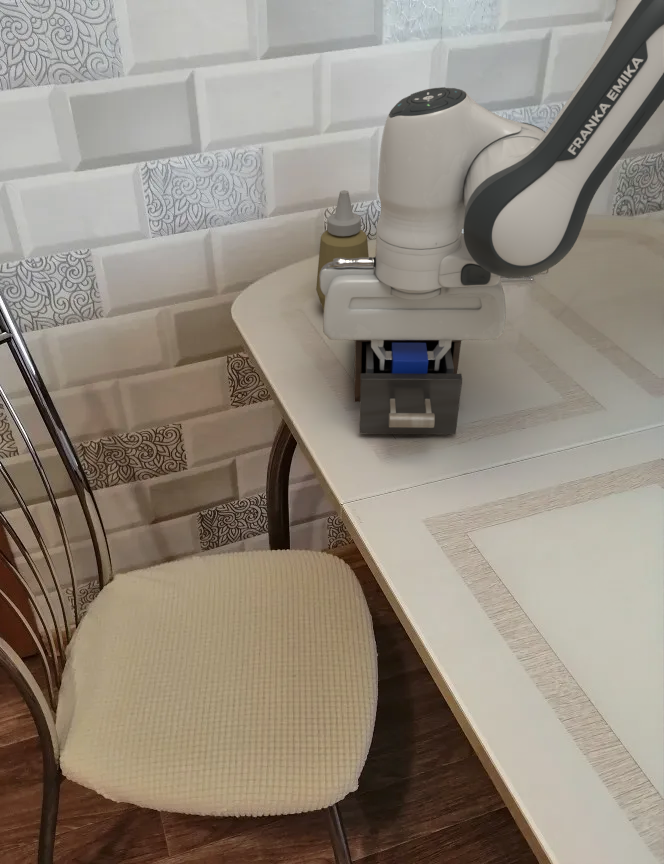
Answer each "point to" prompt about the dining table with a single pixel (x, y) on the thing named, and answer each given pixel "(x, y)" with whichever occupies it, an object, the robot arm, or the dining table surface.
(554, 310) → the dining table surface
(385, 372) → the dark grey drawer
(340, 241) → the squeeze bottle
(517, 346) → the dining table surface
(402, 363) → the block
